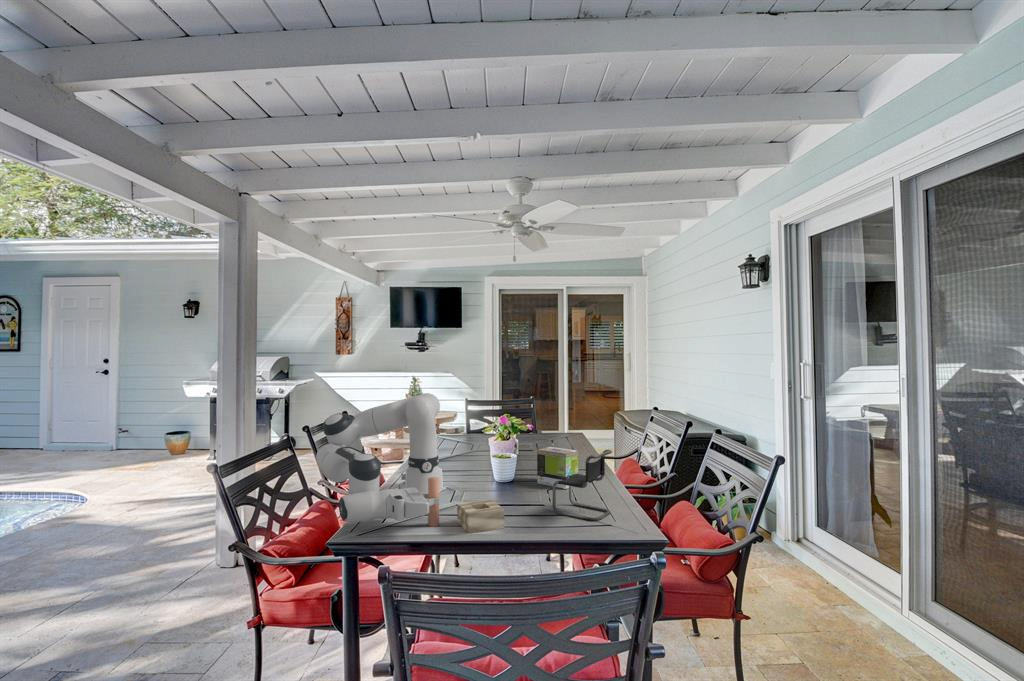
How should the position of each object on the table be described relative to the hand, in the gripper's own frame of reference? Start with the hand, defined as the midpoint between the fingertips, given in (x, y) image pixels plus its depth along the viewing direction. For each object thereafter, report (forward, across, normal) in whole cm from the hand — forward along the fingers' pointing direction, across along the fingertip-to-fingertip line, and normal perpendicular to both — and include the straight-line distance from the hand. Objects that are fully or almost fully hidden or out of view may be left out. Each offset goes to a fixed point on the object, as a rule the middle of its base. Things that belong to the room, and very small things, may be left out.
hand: (436, 498), depth 169 cm
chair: (+50, +8, -9) cm, 51 cm away
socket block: (+13, +6, -9) cm, 17 cm away
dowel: (-1, 0, -8) cm, 9 cm away
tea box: (+60, -29, -9) cm, 67 cm away
